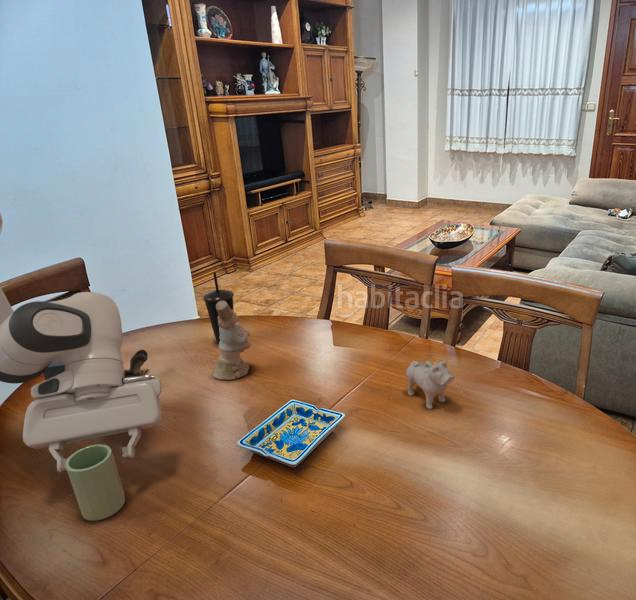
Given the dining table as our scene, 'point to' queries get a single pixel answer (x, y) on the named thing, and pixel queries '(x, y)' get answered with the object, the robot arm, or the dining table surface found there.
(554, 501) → the dining table surface
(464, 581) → the dining table surface
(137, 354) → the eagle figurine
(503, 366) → the dining table surface
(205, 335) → the dining table surface
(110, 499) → the green cup
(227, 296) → the drinking cup
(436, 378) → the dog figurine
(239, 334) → the figurine
